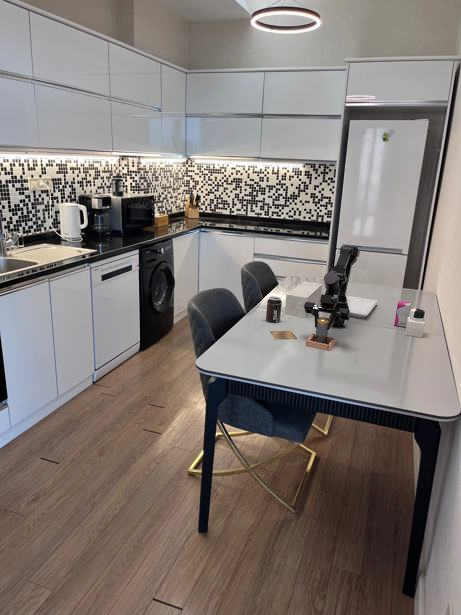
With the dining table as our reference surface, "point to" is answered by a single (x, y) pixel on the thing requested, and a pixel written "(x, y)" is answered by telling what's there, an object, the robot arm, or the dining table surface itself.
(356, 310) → the tray
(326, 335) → the battery cell
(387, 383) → the dining table surface
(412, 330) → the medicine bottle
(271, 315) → the beverage can
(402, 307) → the supplement box
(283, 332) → the tester plate
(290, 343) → the dining table surface
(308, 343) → the shallow wooden box
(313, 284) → the long white box
